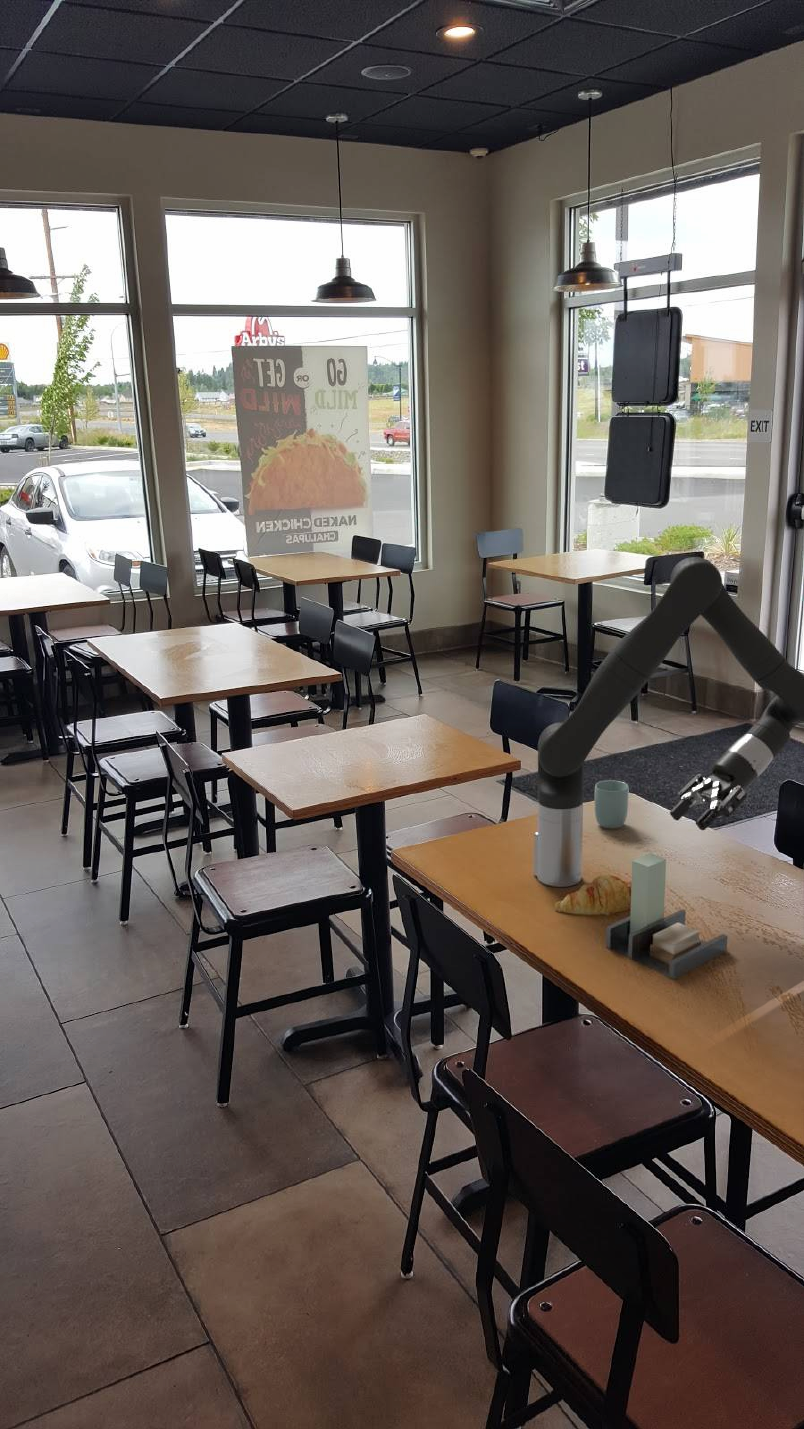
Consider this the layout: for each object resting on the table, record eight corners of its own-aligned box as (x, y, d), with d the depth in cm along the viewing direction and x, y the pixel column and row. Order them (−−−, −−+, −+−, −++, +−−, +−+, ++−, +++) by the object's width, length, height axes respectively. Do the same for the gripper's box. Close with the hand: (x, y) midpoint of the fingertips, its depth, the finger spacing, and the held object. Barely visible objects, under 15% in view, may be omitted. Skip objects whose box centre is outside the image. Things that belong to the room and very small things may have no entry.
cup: (627, 832, 250) (628, 792, 247) (593, 831, 251) (594, 790, 248) (627, 820, 257) (629, 780, 254) (594, 818, 258) (595, 779, 256)
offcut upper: (652, 944, 193) (653, 934, 192) (677, 932, 197) (678, 922, 196) (673, 954, 189) (674, 944, 189) (698, 941, 193) (699, 931, 193)
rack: (605, 951, 197) (606, 924, 195) (658, 926, 206) (659, 899, 204) (673, 984, 185) (674, 955, 184) (726, 955, 194) (728, 928, 193)
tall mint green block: (629, 940, 198) (632, 860, 194) (647, 932, 201) (650, 852, 197) (645, 947, 196) (648, 866, 191) (662, 938, 199) (666, 858, 194)
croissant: (561, 938, 210) (569, 913, 204) (543, 896, 216) (550, 872, 211) (659, 919, 215) (669, 895, 209) (638, 879, 222) (648, 855, 216)
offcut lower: (649, 955, 193) (650, 945, 193) (677, 940, 198) (678, 931, 197) (672, 965, 189) (672, 955, 189) (700, 951, 194) (701, 940, 193)
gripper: (710, 743, 212) (654, 800, 209) (756, 755, 198) (697, 816, 196) (730, 770, 214) (675, 827, 211) (777, 783, 201) (718, 844, 198)
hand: (685, 822), depth 204 cm, fingers open, 8 cm apart
